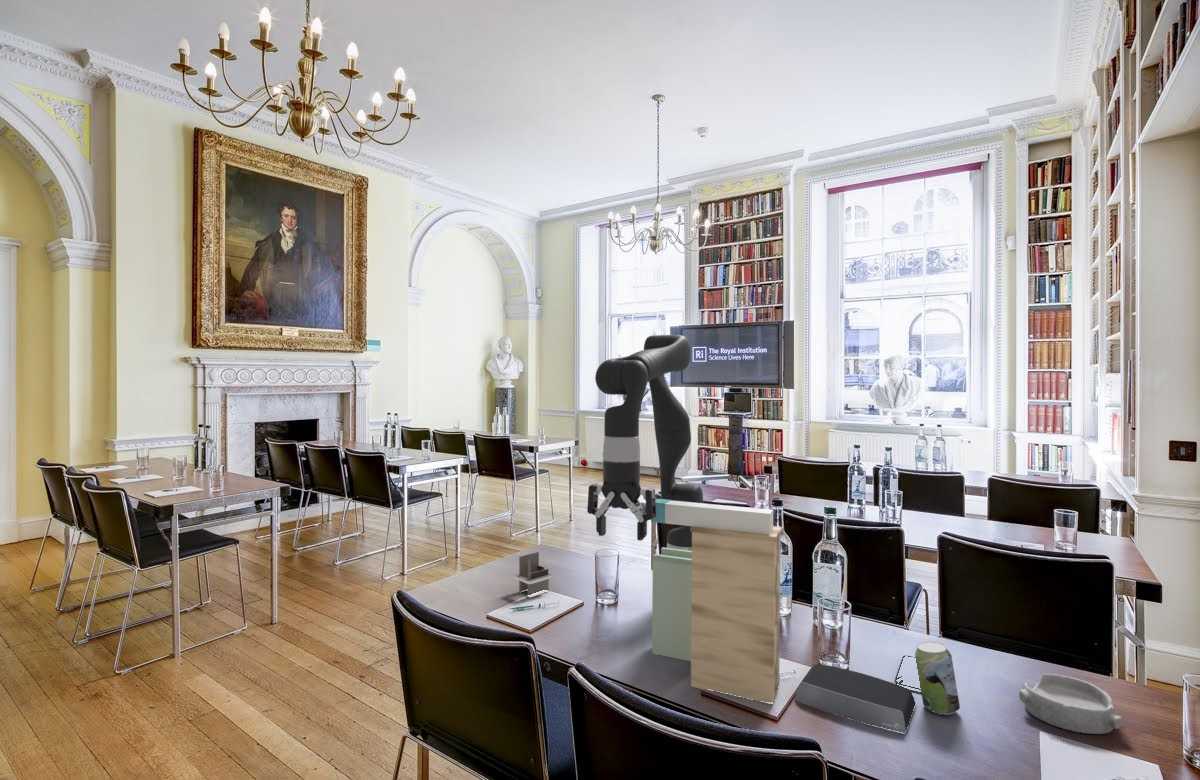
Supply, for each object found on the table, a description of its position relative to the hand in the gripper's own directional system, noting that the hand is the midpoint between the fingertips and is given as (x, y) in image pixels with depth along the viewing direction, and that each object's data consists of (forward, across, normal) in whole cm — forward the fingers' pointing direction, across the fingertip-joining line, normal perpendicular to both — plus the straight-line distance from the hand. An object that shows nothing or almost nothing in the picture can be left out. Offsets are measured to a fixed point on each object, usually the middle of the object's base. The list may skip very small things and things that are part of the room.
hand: (621, 537), depth 122 cm
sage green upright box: (+29, -8, -18) cm, 35 cm away
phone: (+30, -56, -28) cm, 69 cm away
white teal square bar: (-3, -17, -6) cm, 18 cm away
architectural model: (+30, +42, -36) cm, 63 cm away
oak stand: (+29, -22, -8) cm, 37 cm away
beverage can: (+30, -58, -15) cm, 67 cm away
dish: (+30, -80, -23) cm, 88 cm away
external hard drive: (+30, -44, -11) cm, 54 cm away
